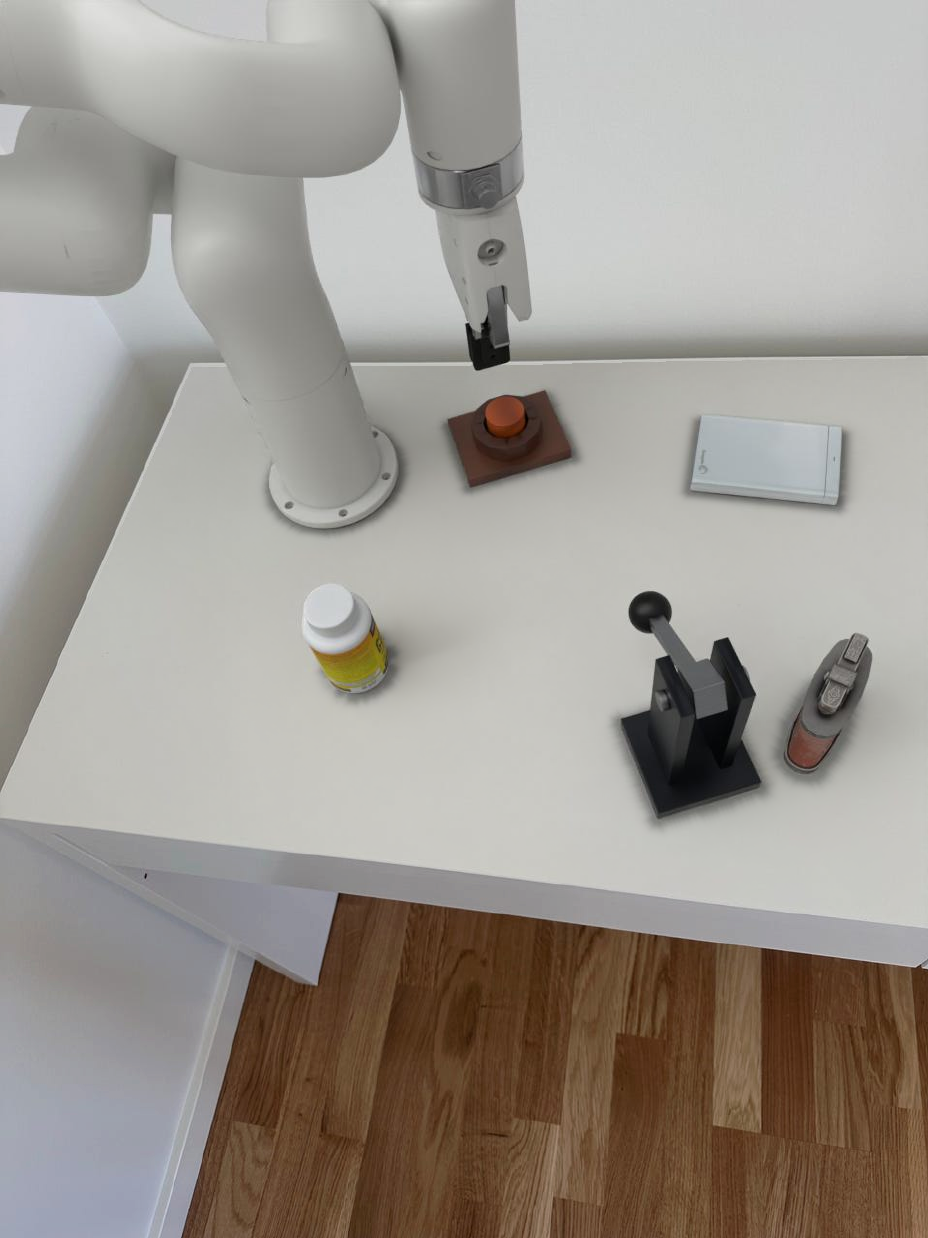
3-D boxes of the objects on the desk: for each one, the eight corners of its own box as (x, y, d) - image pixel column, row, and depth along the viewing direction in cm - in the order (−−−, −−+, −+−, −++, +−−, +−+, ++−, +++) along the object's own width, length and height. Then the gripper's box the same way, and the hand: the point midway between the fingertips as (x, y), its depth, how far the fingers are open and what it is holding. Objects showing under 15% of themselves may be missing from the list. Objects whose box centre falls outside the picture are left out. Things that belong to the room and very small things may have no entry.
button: (493, 442, 85) (491, 430, 83) (482, 415, 87) (480, 402, 85) (530, 431, 85) (529, 419, 83) (519, 404, 87) (517, 391, 85)
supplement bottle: (401, 677, 77) (375, 616, 68) (341, 707, 76) (307, 649, 67) (375, 627, 80) (347, 562, 71) (317, 655, 79) (282, 593, 70)
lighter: (817, 782, 68) (848, 729, 59) (773, 761, 69) (797, 706, 61) (857, 695, 71) (892, 633, 62) (814, 677, 72) (843, 613, 63)
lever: (625, 624, 71) (619, 590, 69) (665, 613, 71) (660, 578, 69) (689, 726, 60) (684, 688, 58) (736, 712, 60) (732, 674, 58)
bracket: (620, 725, 72) (623, 642, 60) (716, 695, 72) (738, 607, 61) (657, 819, 68) (668, 750, 56) (759, 788, 68) (792, 712, 56)
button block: (469, 487, 86) (465, 467, 83) (448, 427, 90) (444, 405, 87) (571, 457, 86) (570, 436, 84) (545, 398, 90) (544, 376, 88)
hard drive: (690, 481, 81) (839, 495, 78) (701, 411, 85) (843, 422, 82) (689, 492, 82) (835, 507, 80) (699, 423, 86) (839, 434, 83)
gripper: (554, 212, 59) (559, 410, 75) (490, 91, 67) (506, 293, 83) (443, 242, 59) (471, 434, 75) (391, 117, 67) (427, 315, 82)
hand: (490, 360), depth 79 cm, fingers closed
